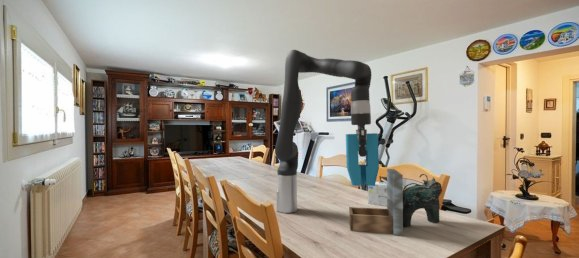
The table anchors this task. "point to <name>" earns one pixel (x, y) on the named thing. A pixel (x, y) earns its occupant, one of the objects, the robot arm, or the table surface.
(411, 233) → the table surface
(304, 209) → the table surface
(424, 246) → the table surface
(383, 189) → the light bulb box
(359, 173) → the block
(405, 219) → the dark green elephant figurine
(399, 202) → the wooden stand
